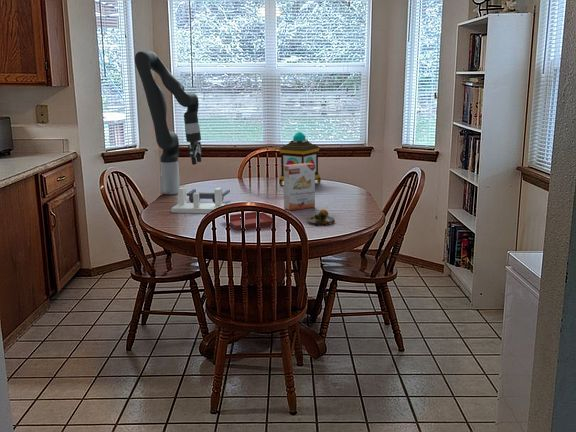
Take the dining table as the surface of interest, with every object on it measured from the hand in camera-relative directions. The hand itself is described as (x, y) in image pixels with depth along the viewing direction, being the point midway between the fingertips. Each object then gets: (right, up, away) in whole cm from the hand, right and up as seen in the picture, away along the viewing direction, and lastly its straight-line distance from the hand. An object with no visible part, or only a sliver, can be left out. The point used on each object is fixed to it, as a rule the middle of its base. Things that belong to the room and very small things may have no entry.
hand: (196, 163), depth 308 cm
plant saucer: (+31, -32, -56) cm, 72 cm away
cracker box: (+53, -24, -29) cm, 65 cm away
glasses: (+8, -20, -10) cm, 24 cm away
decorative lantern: (+54, -10, +30) cm, 63 cm away
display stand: (+5, -25, -30) cm, 39 cm away
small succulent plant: (+62, -31, -56) cm, 89 cm away
